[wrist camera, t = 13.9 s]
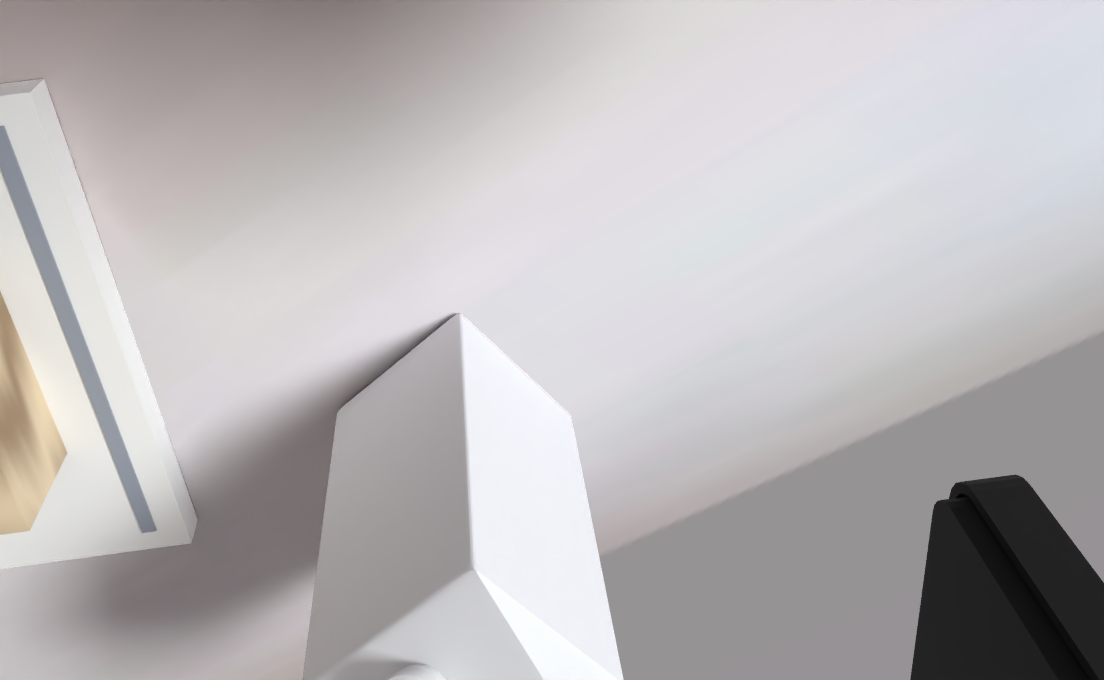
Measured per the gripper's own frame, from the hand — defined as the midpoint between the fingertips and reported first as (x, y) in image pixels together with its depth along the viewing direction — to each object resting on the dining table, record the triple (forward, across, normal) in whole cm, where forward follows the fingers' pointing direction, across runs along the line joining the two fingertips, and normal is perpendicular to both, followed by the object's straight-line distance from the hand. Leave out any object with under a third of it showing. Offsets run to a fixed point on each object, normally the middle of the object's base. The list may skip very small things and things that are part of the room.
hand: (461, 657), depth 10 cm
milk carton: (+30, +2, +18) cm, 35 cm away
